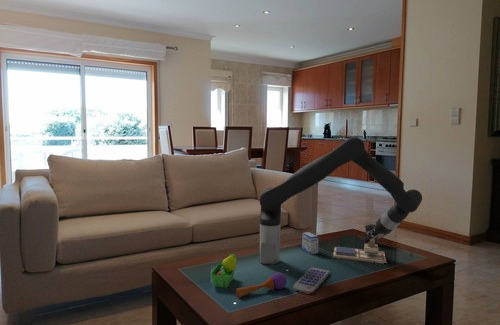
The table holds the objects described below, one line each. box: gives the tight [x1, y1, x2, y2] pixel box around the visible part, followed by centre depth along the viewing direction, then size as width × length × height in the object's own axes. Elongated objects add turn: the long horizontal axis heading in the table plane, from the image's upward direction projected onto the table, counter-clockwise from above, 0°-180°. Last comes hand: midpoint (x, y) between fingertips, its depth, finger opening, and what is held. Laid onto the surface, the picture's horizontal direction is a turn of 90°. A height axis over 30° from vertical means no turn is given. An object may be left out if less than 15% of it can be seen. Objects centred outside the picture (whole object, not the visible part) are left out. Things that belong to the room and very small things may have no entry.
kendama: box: [235, 272, 287, 299], centre depth 130 cm, size 6×6×20 cm
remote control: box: [292, 266, 331, 293], centre depth 140 cm, size 8×23×2 cm, turn 151°
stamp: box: [363, 235, 379, 254], centre depth 167 cm, size 6×6×8 cm
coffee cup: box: [364, 223, 379, 245], centre depth 188 cm, size 8×8×10 cm
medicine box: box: [301, 231, 319, 255], centre depth 175 cm, size 8×4×9 cm, turn 25°
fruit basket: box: [210, 253, 238, 288], centre depth 137 cm, size 11×9×11 cm
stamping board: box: [332, 246, 387, 264], centre depth 170 cm, size 14×24×1 cm, turn 73°
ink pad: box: [335, 246, 356, 256], centre depth 171 cm, size 9×9×1 cm
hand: (368, 241), depth 169 cm, fingers closed on stamp, 3 cm apart
